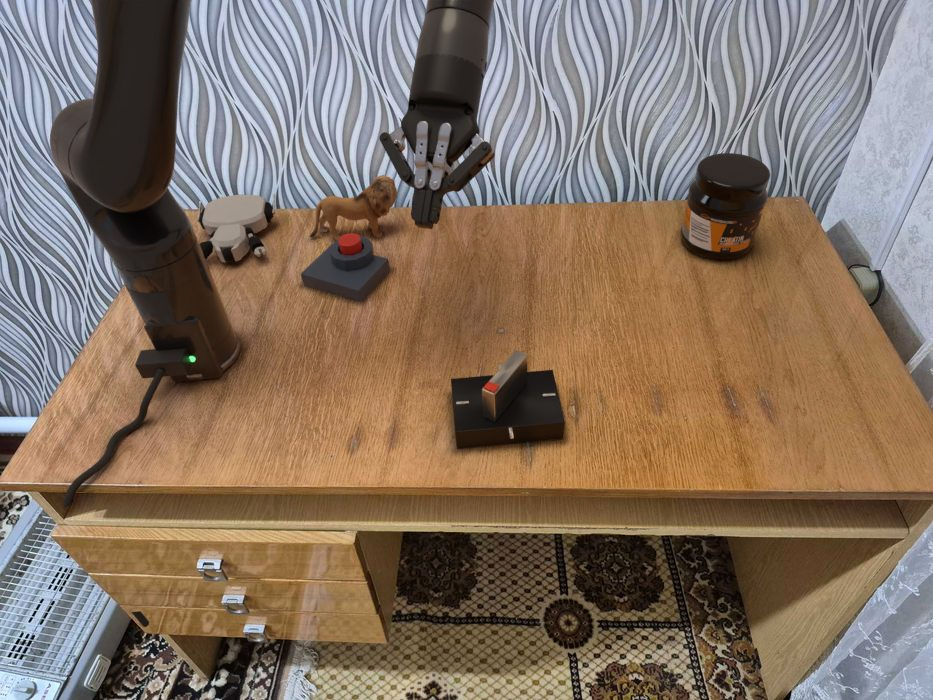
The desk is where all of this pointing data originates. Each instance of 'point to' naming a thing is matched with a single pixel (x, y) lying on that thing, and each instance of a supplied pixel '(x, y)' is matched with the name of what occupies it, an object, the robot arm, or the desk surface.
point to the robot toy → (235, 225)
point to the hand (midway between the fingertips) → (423, 226)
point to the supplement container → (725, 205)
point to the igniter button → (350, 244)
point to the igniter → (346, 271)
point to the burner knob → (505, 385)
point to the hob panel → (508, 412)
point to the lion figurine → (358, 206)
